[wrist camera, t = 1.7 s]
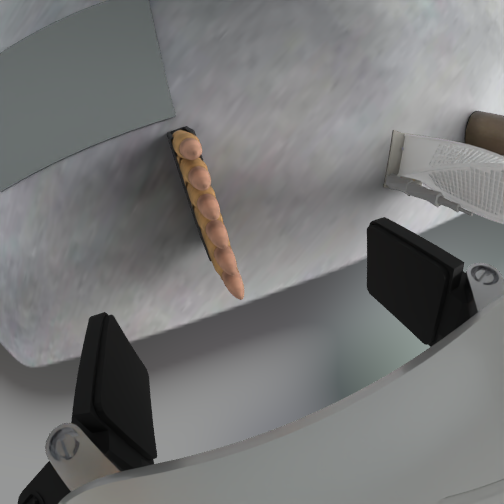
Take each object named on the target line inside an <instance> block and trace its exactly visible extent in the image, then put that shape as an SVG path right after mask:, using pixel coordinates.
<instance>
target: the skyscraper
mask: <svg viewBox="0 0 504 504" xmlns="http://www.w3.org/2000/svg"><path fill="white" fill-rule="evenodd" d="M422 183H423V184H425V185H426V186H428V187H429V188H431V189H432V190H430V189H427V188H425V187H423V186H422ZM383 187H385V188H391V189H396V190H400V191H402V192H404V193H406V194H407V195H408V196H410V195H411V196H414V197H418V198H421V199H424V200H427V201H429V202H430V203H432V204H433V205H435V206H437V207H439V206H440V205H443V206H446V207H449V208H451V209H453V210H454V211H456V212H459V211H462V212H464V213H466V214H468V215H470V216H472V215H473V213H475V214H477V215H480V216H482V217H485V218H487V219H490V220H492V221H496V222H499V223H502V224H504V156H502V155H499V154H497V153H494V152H491V151H488V150H485V149H482V148H479V147H476V146H472V145H469V144H465V143H460V142H456V141H451V140H446V139H441V138H435V137H428V136H421V135H413V134H404V133H401V132H398V131H394V130H393V134H392V141H391V147H390V153H389V159H388V165H387V171H386V176H385V181H384V186H383ZM444 197H445V198H447V199H448V200H447V199H445V198H444ZM449 200H450V201H449ZM451 201H452V202H451ZM461 207H463V208H465V209H467V210H469V211H467V210H465V209H463V208H461ZM470 211H471V212H470ZM472 212H473V213H472Z"/></svg>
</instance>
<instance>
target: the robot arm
mask: <svg viewBox="0 0 504 504" xmlns="http://www.w3.org/2000/svg"><path fill="white" fill-rule="evenodd" d="M463 267H464V262H462V261H461V260H459V259H458V258H456V257H454V256H453V255H451V254H449V253H448V252H446V251H444V250H443V249H441V248H439V247H438V246H436V245H434V244H433V243H431V242H429V241H427V240H426V239H424V238H422V237H420V236H419V235H417V234H415V233H413V232H411V231H410V230H408V229H406V228H404V227H402V226H400V225H399V224H397V223H395V222H393V221H391V220H389V219H387V218H385V217H383V218H380V219H377V220H374V221H372V222H371V223H370V225H369V227H368V228H367V288H368V291H369V293H370V294H371V295H372V296H373V297H374V298H375V299H376V300H377V301H378V302H380V303H381V304H382V305H383V306H384V307H385V308H386V309H387V310H388V311H389V312H390V313H392V314H393V315H394V316H395V317H396V318H397V319H398V320H399V321H400V322H401V323H402V324H403V325H405V326H406V327H407V328H408V329H409V330H410V331H411V332H412V333H413V334H414V335H415V336H416V337H417V338H418V339H420V341H422V342H423V343H424V344H428V345H429V346H430V348H429V349H427V350H426V351H424V352H423V353H421V354H420V355H418V356H417V357H415V358H414V359H413V360H411V361H409V362H408V363H406V364H404V365H403V366H401V367H400V368H398V369H396V370H394V371H393V372H391V373H390V374H388V375H386V376H384V377H383V378H381V379H379V380H377V381H376V382H374V383H372V384H370V385H369V386H367V387H365V388H363V389H362V390H359V391H357V392H356V393H354V394H352V395H350V396H348V397H346V398H344V399H342V400H340V401H338V402H336V403H334V404H332V405H330V406H328V407H325V408H323V409H321V410H319V411H317V412H314V413H313V414H310V415H308V416H305V417H303V418H301V419H298V420H296V421H294V422H291V423H289V424H286V425H284V426H281V427H279V428H276V429H274V430H271V431H269V432H266V433H263V434H260V435H258V436H255V437H252V438H249V439H246V440H243V441H240V442H237V443H234V444H230V445H227V446H224V447H221V448H217V449H214V450H211V451H207V452H203V453H199V454H196V455H192V456H188V457H184V458H180V459H176V460H172V461H167V462H163V463H158V464H154V461H153V459H155V458H157V451H156V443H155V436H154V428H153V419H152V409H151V399H150V386H149V376H148V372H147V369H146V368H145V366H144V364H143V363H142V361H141V360H140V359H139V357H138V356H137V354H136V352H135V351H134V349H133V347H132V346H131V344H130V343H129V341H128V339H127V338H126V336H125V334H124V333H123V331H122V329H121V328H120V326H119V324H118V323H117V321H116V319H115V318H114V316H113V315H108V314H107V313H105V312H104V313H101V314H98V315H94V316H91V317H90V318H89V322H88V326H87V330H86V335H85V340H84V344H83V349H82V354H81V360H80V365H79V371H78V377H77V383H76V389H75V396H74V405H73V413H72V422H71V423H64V424H61V425H59V426H57V427H56V428H55V429H53V431H52V432H51V433H50V434H49V436H48V438H47V440H46V446H45V449H46V455H47V457H48V459H49V462H48V463H47V464H46V465H45V466H44V468H43V469H42V470H41V471H40V472H39V473H38V474H37V475H36V476H35V478H34V479H33V480H32V481H31V482H30V483H29V484H28V485H27V487H26V488H25V489H24V490H23V491H22V493H21V494H20V496H19V499H18V504H504V279H503V277H502V275H501V273H500V271H498V270H497V269H496V268H495V267H493V266H491V265H488V264H485V263H475V264H472V265H470V266H469V267H468V269H467V272H466V273H464V272H463Z"/></svg>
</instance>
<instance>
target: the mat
mask: <svg viewBox="0 0 504 504" xmlns="http://www.w3.org/2000/svg"><path fill="white" fill-rule="evenodd" d="M175 116H176V115H175V111H174V107H173V103H172V99H171V95H170V91H169V87H168V83H167V79H166V75H165V70H164V66H163V62H162V58H161V53H160V49H159V45H158V40H157V36H156V31H155V27H154V22H153V17H152V13H151V8H150V3H149V0H108V1H105V2H102V3H99V4H96V5H94V6H91V7H89V8H86V9H84V10H81V11H79V12H76V13H74V14H72V15H69V16H67V17H65V18H63V19H61V20H58V21H56V22H54V23H52V24H50V25H48V26H46V27H44V28H42V29H40V30H39V31H37V32H35V33H33V34H31V35H29V36H28V37H26V38H24V39H22V40H21V41H19V42H17V43H16V44H14V45H12V46H11V47H9V48H8V49H6V50H5V51H3V52H1V53H0V192H1V191H3V190H5V189H6V188H8V187H10V186H12V185H13V184H15V183H17V182H19V181H20V180H22V179H24V178H26V177H28V176H30V175H31V174H33V173H35V172H37V171H39V170H41V169H43V168H45V167H47V166H49V165H51V164H53V163H55V162H57V161H59V160H61V159H63V158H66V157H68V156H70V155H72V154H74V153H77V152H79V151H81V150H83V149H86V148H88V147H90V146H93V145H95V144H98V143H100V142H103V141H105V140H108V139H110V138H113V137H115V136H118V135H121V134H123V133H126V132H129V131H132V130H135V129H138V128H140V127H143V126H146V125H149V124H152V123H156V122H159V121H162V120H165V119H168V118H172V117H175Z"/></svg>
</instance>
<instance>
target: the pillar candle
mask: <svg viewBox="0 0 504 504" xmlns="http://www.w3.org/2000/svg"><path fill="white" fill-rule="evenodd" d="M465 144H469V145H472V146H476V147H479V148H482V149H485V150H488V151H491V152H494V153H497V154H499V155H502V156H504V116H502V115H497V114H492V113H486V112H481V111H476V112H474V113H473V114H472V115H471V116H470V119H469V121H468V125H467V128H466V133H465Z"/></svg>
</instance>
